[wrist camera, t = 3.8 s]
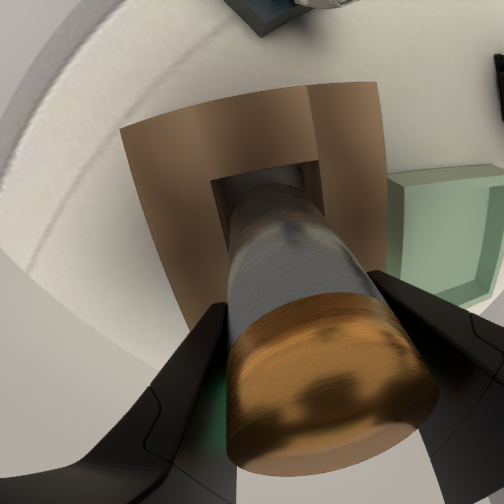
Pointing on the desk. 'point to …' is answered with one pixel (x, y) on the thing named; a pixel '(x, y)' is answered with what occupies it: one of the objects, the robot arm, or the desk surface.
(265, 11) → the watch
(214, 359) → the robot arm
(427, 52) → the desk surface
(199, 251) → the hole block
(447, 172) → the tray
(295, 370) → the steel pin
